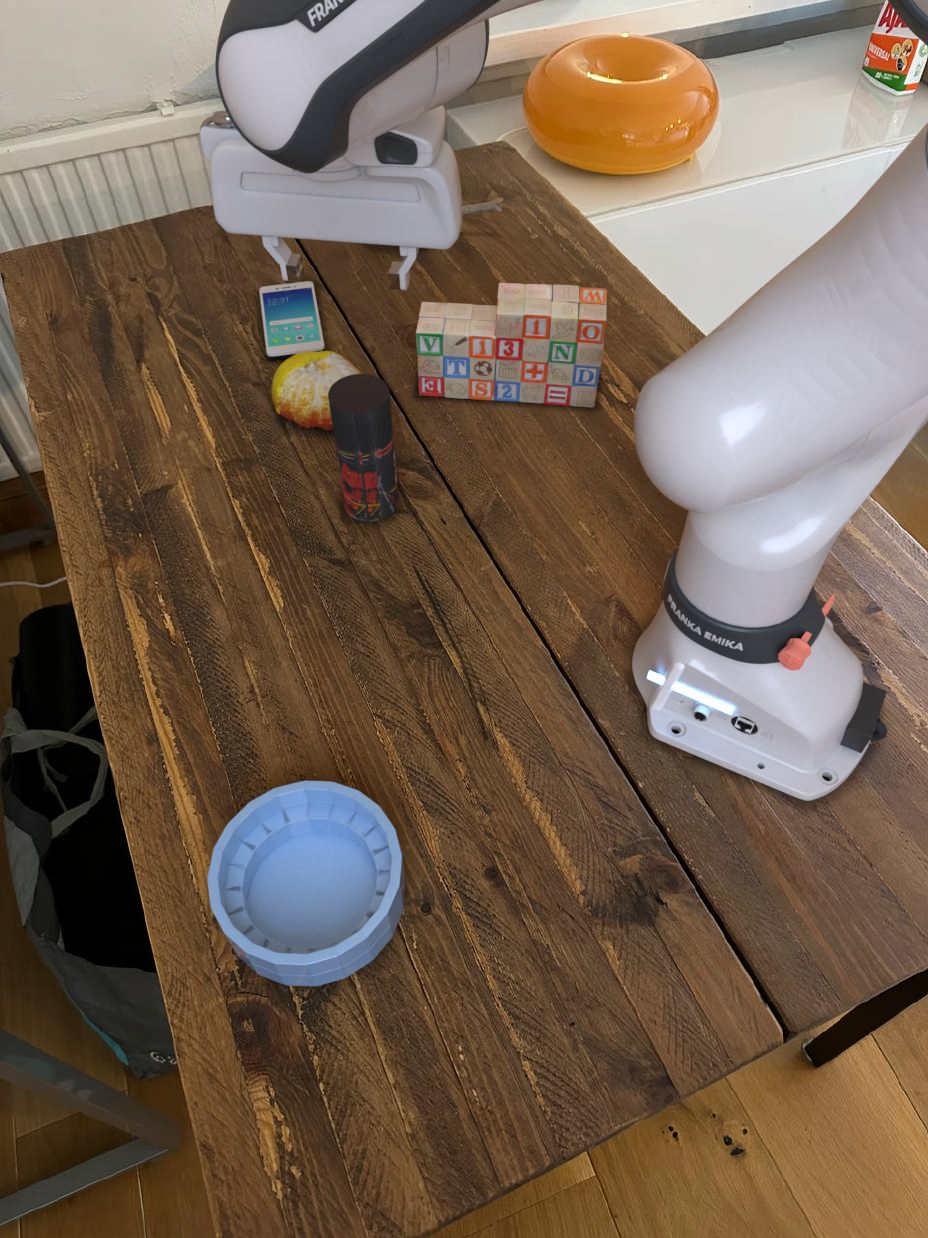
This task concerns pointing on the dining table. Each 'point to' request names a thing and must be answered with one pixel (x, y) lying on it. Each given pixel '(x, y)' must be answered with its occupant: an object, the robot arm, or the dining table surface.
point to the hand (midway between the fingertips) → (346, 281)
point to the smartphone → (290, 319)
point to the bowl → (308, 882)
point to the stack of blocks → (515, 346)
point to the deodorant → (364, 446)
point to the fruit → (308, 387)
